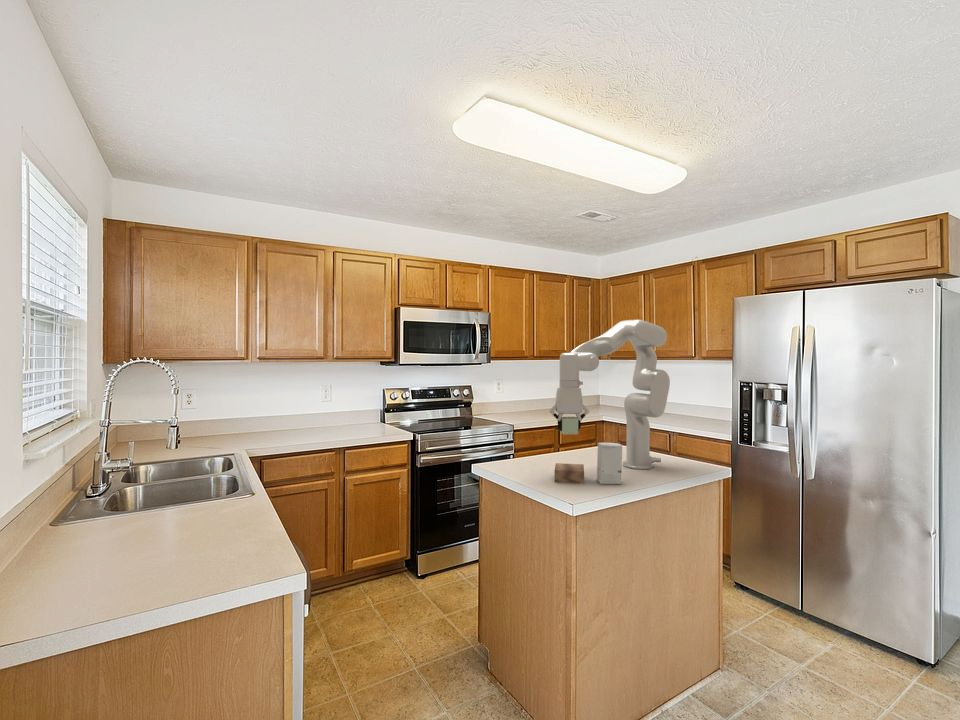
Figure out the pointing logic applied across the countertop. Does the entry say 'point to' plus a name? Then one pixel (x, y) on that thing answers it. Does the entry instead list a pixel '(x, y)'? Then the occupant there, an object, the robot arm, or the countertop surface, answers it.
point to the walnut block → (569, 473)
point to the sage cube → (569, 425)
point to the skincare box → (609, 463)
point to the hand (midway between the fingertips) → (569, 430)
